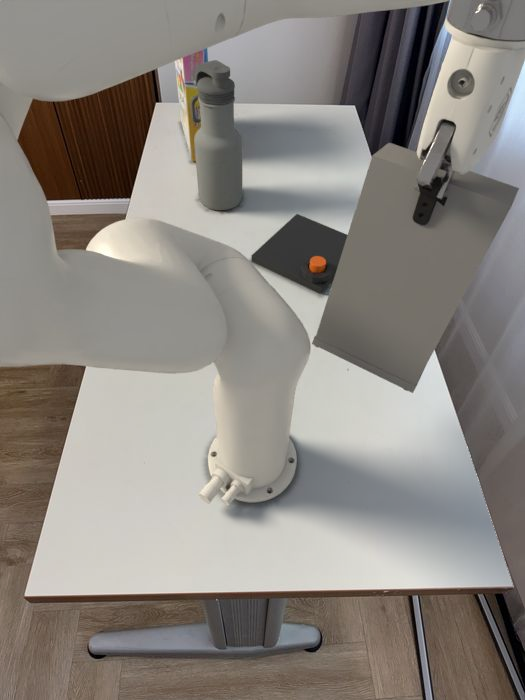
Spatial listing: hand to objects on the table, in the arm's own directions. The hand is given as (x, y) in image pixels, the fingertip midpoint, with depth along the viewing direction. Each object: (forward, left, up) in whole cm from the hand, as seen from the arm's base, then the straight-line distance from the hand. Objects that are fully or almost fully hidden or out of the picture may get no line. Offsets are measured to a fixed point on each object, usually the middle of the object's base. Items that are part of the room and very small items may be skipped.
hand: (431, 211), depth 52 cm
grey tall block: (-5, +1, -20) cm, 21 cm away
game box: (+47, +72, -35) cm, 93 cm away
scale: (+25, +26, -35) cm, 50 cm away
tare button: (+20, +21, -32) cm, 43 cm away
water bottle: (+30, +52, -35) cm, 70 cm away
